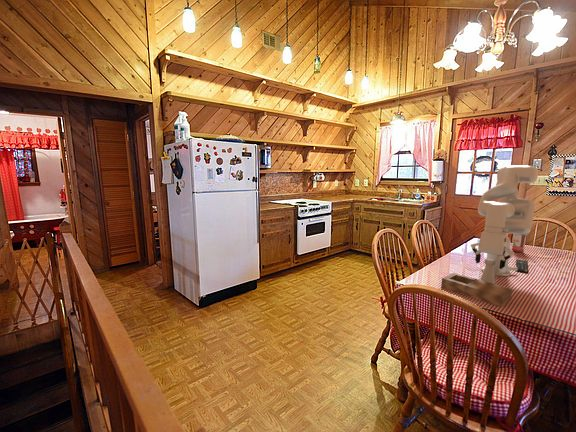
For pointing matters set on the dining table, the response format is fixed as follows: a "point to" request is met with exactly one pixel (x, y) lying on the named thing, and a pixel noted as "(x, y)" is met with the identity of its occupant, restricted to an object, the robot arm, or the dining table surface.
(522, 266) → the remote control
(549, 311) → the dining table surface
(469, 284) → the caddy
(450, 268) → the dining table surface
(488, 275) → the salt shaker
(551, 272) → the dining table surface
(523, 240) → the liquor
